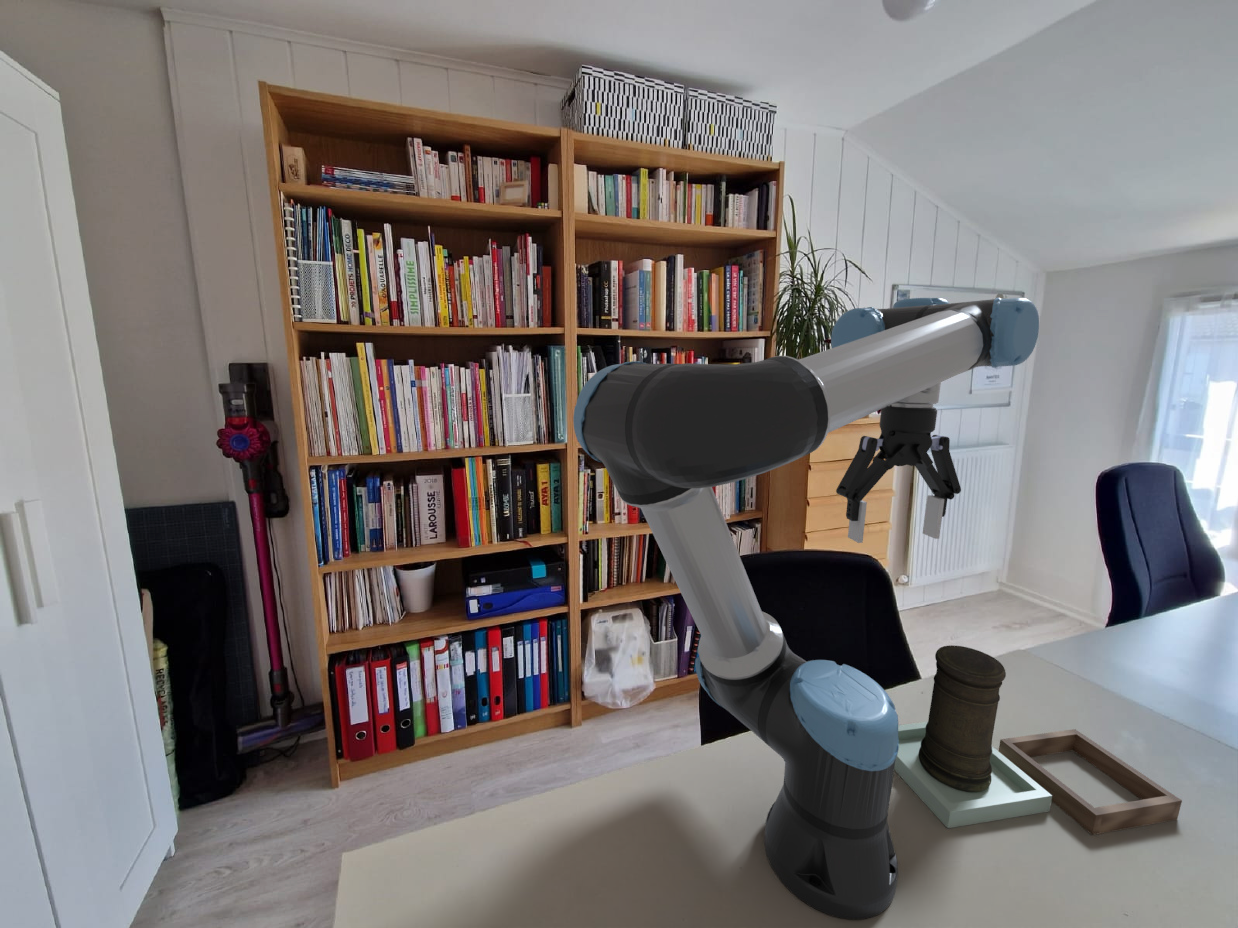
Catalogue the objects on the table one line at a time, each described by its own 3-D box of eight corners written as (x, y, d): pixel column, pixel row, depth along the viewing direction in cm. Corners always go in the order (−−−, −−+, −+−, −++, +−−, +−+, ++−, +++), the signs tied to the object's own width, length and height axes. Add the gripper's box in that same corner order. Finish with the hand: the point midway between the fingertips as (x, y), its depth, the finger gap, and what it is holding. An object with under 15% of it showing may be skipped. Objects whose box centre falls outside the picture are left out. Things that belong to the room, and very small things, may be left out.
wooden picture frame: (1091, 834, 68) (1096, 815, 67) (997, 756, 81) (1000, 739, 81) (1177, 819, 70) (1182, 800, 70) (1071, 745, 84) (1075, 729, 83)
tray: (947, 828, 68) (950, 812, 68) (869, 742, 84) (871, 728, 83) (1049, 811, 71) (1052, 795, 71) (955, 731, 87) (957, 717, 86)
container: (1004, 794, 73) (1026, 679, 69) (939, 792, 73) (957, 677, 70) (964, 748, 82) (981, 643, 78) (906, 746, 82) (921, 642, 78)
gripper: (850, 407, 73) (836, 550, 77) (1001, 406, 78) (980, 541, 82) (820, 403, 81) (809, 533, 85) (960, 402, 85) (943, 527, 89)
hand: (893, 538), depth 83 cm, fingers open, 13 cm apart
